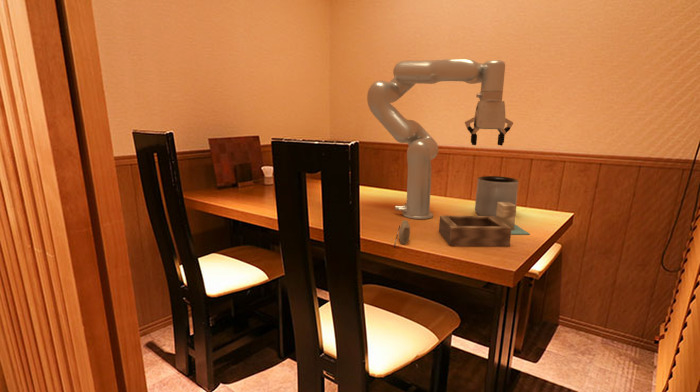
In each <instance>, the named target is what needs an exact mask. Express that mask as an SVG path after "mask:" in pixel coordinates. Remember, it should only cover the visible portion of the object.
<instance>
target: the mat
mask: <svg viewBox="0 0 700 392" xmlns="http://www.w3.org/2000/svg"><path fill="white" fill-rule="evenodd" d="M511 235H514V236H525V235H526V236H530V235H531V234H530V232H529V231H527V230H525V229H523V228H522V227H520V226H518V225H517V224H515V225H514V230H511Z"/></svg>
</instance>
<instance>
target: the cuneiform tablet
mask: <svg viewBox="0 0 700 392" xmlns="http://www.w3.org/2000/svg"><path fill="white" fill-rule="evenodd" d="M410 235H411V226H410V223H409V221H408V220H407V219H403V220H402V221H401V224H400V225H398V230H397V233H396V236H395V237H396V238H395V241H394V245H393V248H396V244H397V240H398V238H399V242H400V245H407V244H408V242H409V241H410Z"/></svg>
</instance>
